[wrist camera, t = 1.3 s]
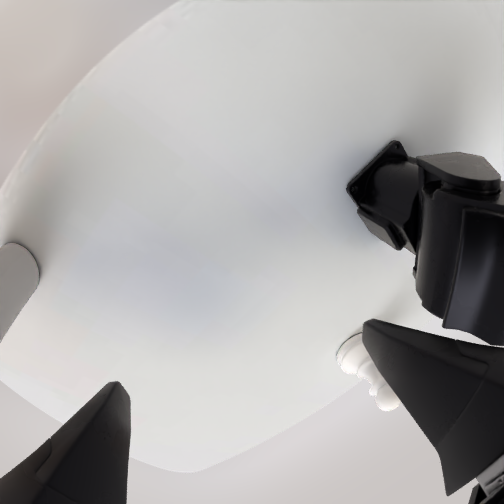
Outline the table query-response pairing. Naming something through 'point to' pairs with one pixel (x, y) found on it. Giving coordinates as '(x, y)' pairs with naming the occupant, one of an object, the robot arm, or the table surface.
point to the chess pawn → (366, 372)
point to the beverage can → (15, 282)
